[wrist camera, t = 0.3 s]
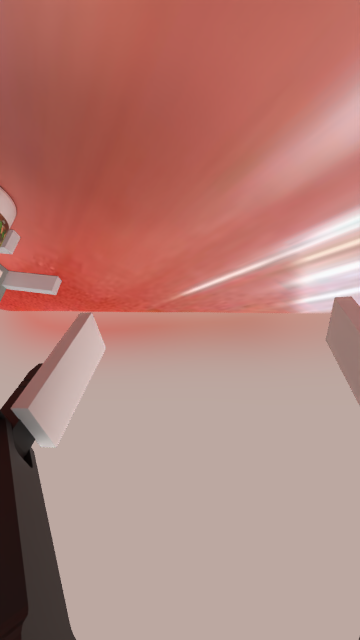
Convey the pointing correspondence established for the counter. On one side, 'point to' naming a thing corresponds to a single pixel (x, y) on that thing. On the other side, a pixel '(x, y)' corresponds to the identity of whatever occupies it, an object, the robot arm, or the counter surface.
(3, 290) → the stacked grey blocks
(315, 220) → the counter surface
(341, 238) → the counter surface
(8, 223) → the milk bottle
